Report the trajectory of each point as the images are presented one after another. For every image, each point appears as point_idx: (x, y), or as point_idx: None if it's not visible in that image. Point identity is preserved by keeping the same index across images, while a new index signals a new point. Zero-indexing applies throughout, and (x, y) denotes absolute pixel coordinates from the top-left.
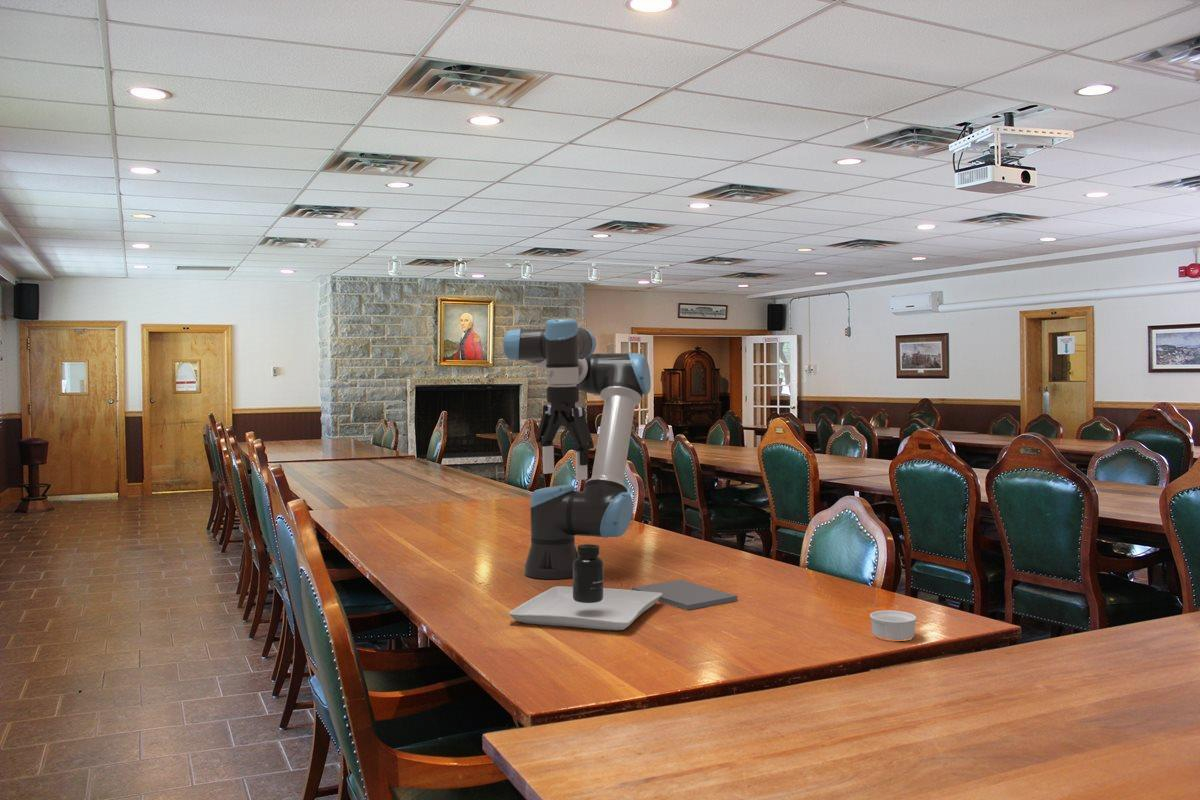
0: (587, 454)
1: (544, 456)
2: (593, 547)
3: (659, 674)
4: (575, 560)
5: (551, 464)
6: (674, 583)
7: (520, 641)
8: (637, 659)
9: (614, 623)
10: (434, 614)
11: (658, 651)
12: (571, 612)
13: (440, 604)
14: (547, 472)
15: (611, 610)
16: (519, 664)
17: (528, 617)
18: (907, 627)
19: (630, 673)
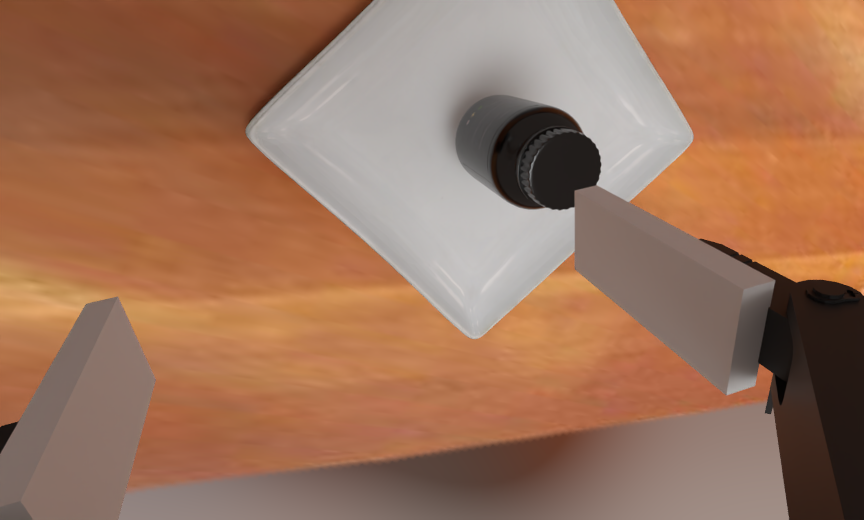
0: (785, 280)
1: (121, 499)
2: (598, 167)
3: (849, 193)
4: (534, 207)
5: (109, 366)
6: None
7: (578, 334)
8: (782, 189)
9: (665, 159)
10: (306, 444)
11: (780, 131)
12: (450, 166)
13: (215, 424)
14: (143, 362)
15: (492, 60)
16: (677, 365)
17: (503, 301)
18: None
19: (815, 231)
